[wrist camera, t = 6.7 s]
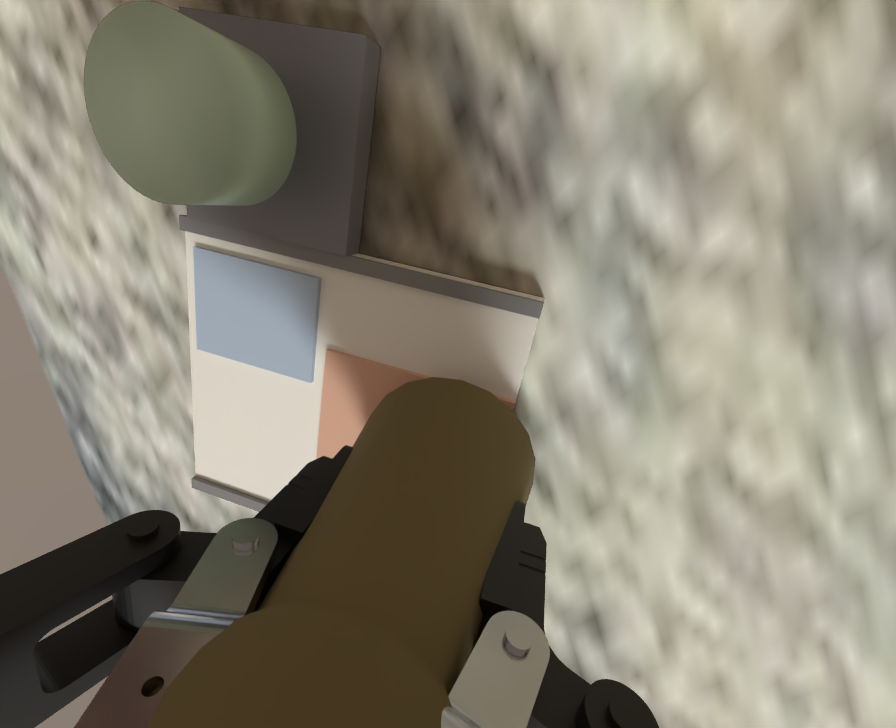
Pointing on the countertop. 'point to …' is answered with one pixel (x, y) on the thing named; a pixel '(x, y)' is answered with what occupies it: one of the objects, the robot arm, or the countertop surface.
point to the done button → (186, 109)
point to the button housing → (310, 132)
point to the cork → (374, 578)
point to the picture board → (324, 350)
